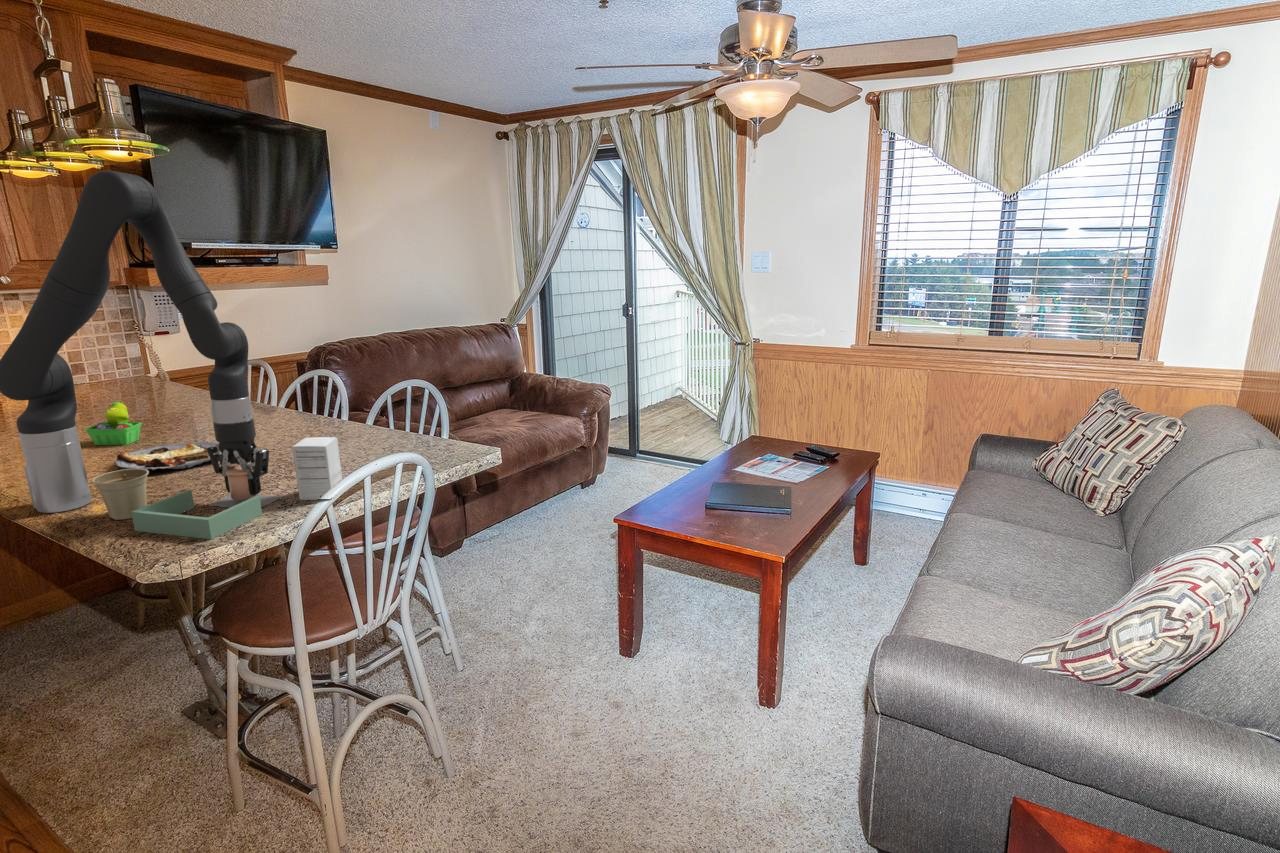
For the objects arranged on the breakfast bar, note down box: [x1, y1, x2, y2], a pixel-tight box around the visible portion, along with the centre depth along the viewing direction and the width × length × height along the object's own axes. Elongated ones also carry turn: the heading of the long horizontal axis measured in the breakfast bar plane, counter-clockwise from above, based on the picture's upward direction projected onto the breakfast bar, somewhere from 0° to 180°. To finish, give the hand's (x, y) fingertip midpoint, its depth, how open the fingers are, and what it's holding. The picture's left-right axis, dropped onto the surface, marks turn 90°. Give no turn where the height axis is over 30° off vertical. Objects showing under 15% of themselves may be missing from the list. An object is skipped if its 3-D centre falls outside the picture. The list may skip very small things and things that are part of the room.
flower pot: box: [91, 469, 150, 521], centre depth 140 cm, size 9×9×9 cm
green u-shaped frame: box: [131, 489, 263, 540], centre depth 137 cm, size 18×13×4 cm
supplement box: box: [292, 436, 343, 501], centre depth 152 cm, size 7×7×13 cm
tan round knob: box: [225, 465, 259, 500], centre depth 148 cm, size 6×6×6 cm
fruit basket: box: [84, 401, 142, 446], centre depth 193 cm, size 11×9×11 cm
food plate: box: [113, 441, 219, 472], centre depth 177 cm, size 25×23×4 cm
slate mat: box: [208, 494, 283, 509], centre depth 149 cm, size 12×8×1 cm, turn 77°
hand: (244, 492), depth 148 cm, fingers closed on tan round knob, 5 cm apart
